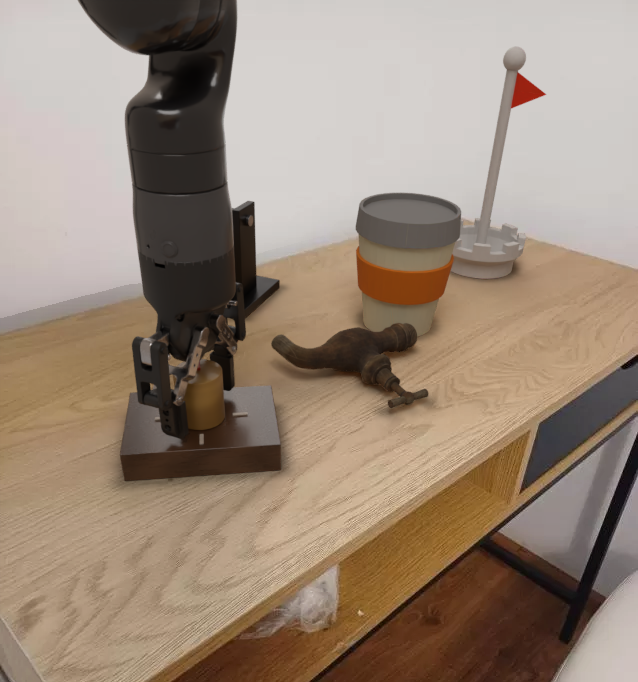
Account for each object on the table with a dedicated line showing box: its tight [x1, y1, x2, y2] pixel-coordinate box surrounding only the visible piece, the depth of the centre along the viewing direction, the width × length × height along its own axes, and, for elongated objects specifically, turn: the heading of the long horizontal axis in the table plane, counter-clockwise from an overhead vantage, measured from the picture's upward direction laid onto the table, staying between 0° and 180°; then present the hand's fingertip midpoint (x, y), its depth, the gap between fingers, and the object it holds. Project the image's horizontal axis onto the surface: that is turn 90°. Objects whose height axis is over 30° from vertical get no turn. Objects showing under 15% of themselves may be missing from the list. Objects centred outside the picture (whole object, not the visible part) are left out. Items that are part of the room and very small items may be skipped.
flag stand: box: [450, 46, 547, 280], centre depth 93 cm, size 13×13×30 cm
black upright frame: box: [232, 200, 280, 319], centre depth 86 cm, size 11×9×13 cm
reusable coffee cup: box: [355, 192, 462, 338], centre depth 80 cm, size 13×13×15 cm
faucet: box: [270, 323, 429, 409], centre depth 72 cm, size 5×17×15 cm
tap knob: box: [172, 358, 225, 430], centre depth 59 cm, size 4×4×5 cm
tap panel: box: [119, 385, 282, 482], centre depth 61 cm, size 14×10×3 cm
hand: (201, 410), depth 60 cm, fingers open, 8 cm apart
